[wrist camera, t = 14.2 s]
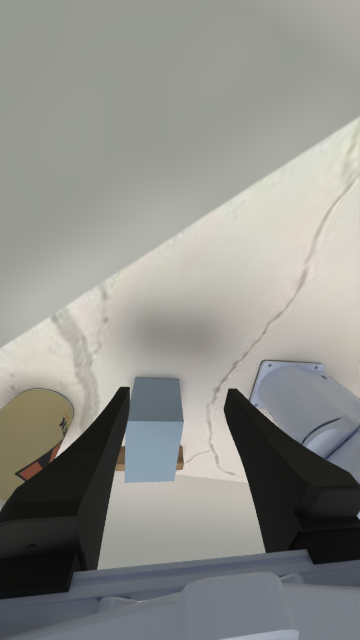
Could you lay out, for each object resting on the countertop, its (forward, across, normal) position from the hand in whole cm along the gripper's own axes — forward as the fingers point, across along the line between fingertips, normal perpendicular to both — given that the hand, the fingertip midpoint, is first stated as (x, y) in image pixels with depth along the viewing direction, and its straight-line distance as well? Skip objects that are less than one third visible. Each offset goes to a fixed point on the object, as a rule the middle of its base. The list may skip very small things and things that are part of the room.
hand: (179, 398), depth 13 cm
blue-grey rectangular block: (+10, +2, +11) cm, 15 cm away
